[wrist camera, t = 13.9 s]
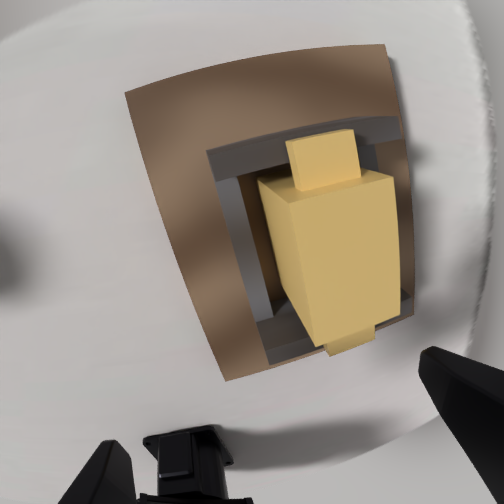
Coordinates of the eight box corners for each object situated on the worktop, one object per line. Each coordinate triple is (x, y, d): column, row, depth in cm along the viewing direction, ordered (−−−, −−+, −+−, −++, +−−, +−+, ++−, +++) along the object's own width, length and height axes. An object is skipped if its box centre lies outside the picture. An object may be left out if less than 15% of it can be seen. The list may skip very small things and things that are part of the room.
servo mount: (403, 304, 22) (445, 344, 17) (223, 366, 21) (233, 427, 16) (371, 48, 15) (427, 30, 10) (130, 96, 14) (101, 80, 9)
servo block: (348, 287, 19) (398, 344, 13) (285, 308, 19) (320, 376, 13) (322, 125, 15) (385, 126, 10) (246, 142, 15) (276, 148, 9)
